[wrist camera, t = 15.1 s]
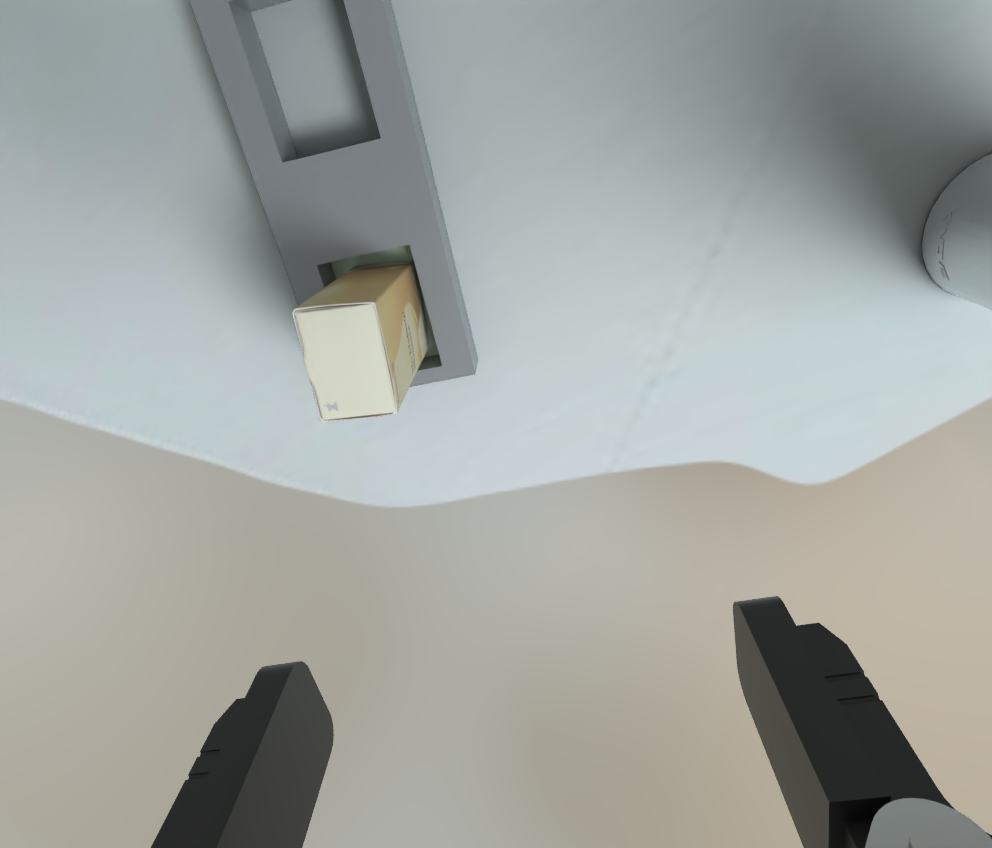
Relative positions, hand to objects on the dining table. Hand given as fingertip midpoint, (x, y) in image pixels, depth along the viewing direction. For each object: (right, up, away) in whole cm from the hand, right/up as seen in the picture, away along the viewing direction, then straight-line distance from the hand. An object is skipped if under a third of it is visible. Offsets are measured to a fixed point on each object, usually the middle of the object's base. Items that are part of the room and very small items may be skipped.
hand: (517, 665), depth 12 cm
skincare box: (-7, +13, +31) cm, 34 cm away
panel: (-9, +19, +28) cm, 35 cm away
